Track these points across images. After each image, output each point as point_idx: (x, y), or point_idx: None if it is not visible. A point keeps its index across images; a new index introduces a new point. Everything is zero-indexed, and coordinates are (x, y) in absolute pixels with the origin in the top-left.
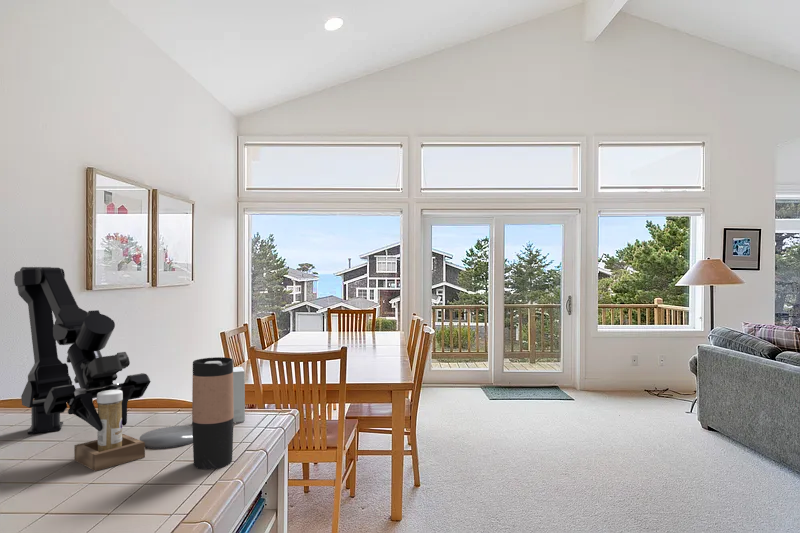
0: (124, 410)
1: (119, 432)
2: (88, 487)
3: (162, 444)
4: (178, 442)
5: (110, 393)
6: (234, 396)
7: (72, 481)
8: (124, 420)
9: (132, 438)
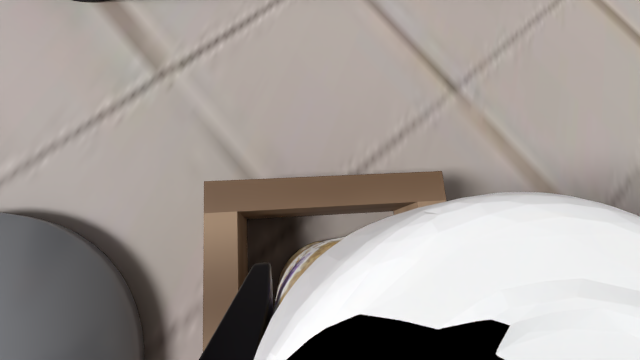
0: (234, 347)
1: (312, 248)
2: (467, 59)
3: (92, 253)
4: (25, 217)
5: (635, 267)
6: None
7: (494, 147)
8: (267, 273)
9: (213, 304)
